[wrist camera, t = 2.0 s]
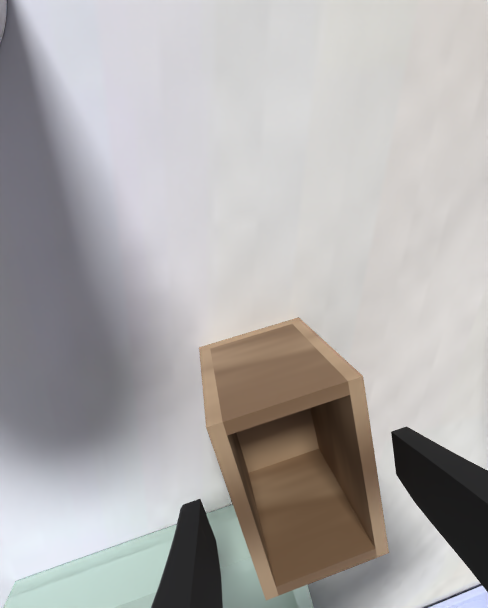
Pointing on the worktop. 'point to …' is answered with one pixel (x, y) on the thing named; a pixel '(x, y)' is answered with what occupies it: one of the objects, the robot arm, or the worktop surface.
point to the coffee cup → (2, 17)
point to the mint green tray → (149, 574)
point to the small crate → (294, 453)
